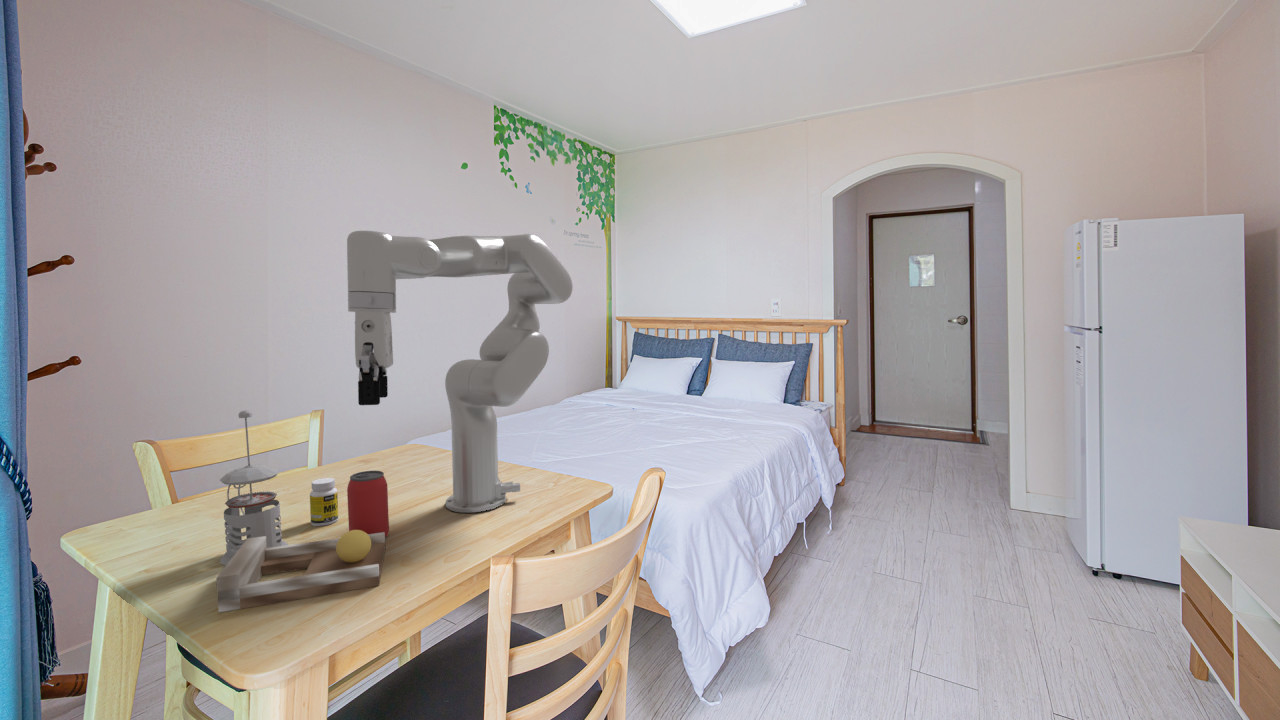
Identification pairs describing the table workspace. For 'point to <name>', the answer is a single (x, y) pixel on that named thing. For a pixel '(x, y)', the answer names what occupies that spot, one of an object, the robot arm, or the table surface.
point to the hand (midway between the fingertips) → (373, 400)
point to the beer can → (368, 502)
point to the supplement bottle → (323, 502)
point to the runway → (320, 578)
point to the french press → (250, 507)
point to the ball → (353, 546)
